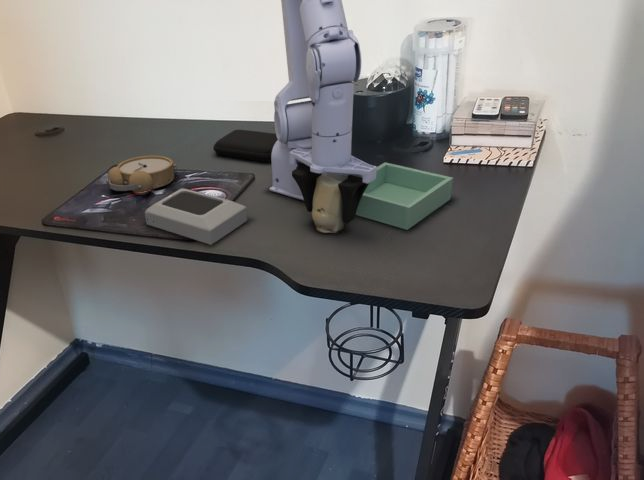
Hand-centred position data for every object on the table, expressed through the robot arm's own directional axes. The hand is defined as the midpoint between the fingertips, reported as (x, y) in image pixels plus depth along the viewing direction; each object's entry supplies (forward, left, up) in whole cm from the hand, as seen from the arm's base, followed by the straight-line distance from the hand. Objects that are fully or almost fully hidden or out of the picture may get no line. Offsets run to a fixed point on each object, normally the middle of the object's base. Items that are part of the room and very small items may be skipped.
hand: (330, 214), depth 100 cm
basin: (+4, +12, -2) cm, 13 cm away
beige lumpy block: (0, 0, -2) cm, 2 cm away
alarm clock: (-41, -6, -2) cm, 42 cm away
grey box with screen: (-20, -11, -2) cm, 23 cm away
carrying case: (-33, +18, -2) cm, 38 cm away
